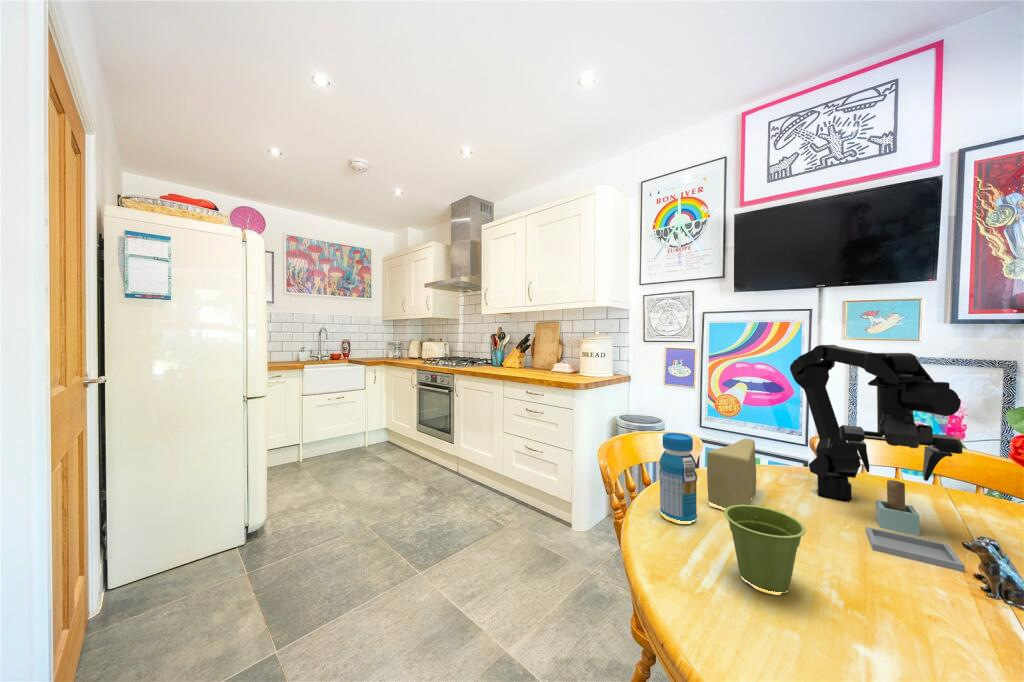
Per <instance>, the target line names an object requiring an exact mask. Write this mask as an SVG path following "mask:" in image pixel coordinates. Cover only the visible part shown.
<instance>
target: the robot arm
mask: <svg viewBox="0 0 1024 682" xmlns="http://www.w3.org/2000/svg"><path fill="white" fill-rule="evenodd" d="M836 363H839V364H844V365H848V366H853V367H858V368H861V369H863V370H864V371H865V372H866V373H868V374H870V375H873V376H874V379H871V380H869V382H867V386H871V387H876V406H877V407H876V408H877V409H876V413H877V414H876V417H877V421H876V422H877V429H876V430H877V431H871V430H870V431H869V430H864V429H863V427H861V426H857V425H845V424H842V425H840V426H839V422H838V419H837V416H836V413H835V410H834V408H833V404H832V402H831V400H830V396H829V393H828V390H827V385H828V382H829V379H830V374H829V371H830V370H832V369H833V368H834V367H835V366H836V365H835V364H836ZM789 370H790V374H791V375H792V379H794V382H795V383H796V384H798V386H800V387H801V388H802V389H803V390H804V393H805V396H806V399H807V404H808V406H809V410H810V412H811V415H812V418H813V422H814V425H815V429H816V432H817V435H818V438H819V440H818V443H817V446H816V448H815V454H816V457H815V458H814V459H812V461H810V463H809V464H808V469H809V472H810V473H812V474H814V475H816V476H817V480H816V481H817V485H816V486H817V489H816V494H817V496H818V497H819V498H824V499H828V500H832V501H833V500H834V501H840V502H844V503H851V501H853V500H852V483H851V482H850V481H849V478H852V479H853V478H854V479H856V477H857V474H858V472H859V470H860V469H859V468H861V462H862V463H863V466H864V469H865V471H866V472H867V473H870V462H869V456H868V452H867V451H868V450H867V444H866V442H865V440H872V441H873V440H874V441H881V442H882V441H883V442H886V444H887V445H889V446H892V447H893V446H894V447H898V446H899V447H907V448H910V449H918V448H920V446H924V451H923V452H924V453H923V466H922V477H923V481H924V482H928V481H929V479H930V478H931V475H932V474H933V472H934V470H935V468H936V467H937V465H938V464H939V463H940V461H941V460H943V459H944V458H945V457H953V456H954V454H957V455H962V454H963V444H962V442H961V441H960V440H958V439H957V438H955V437H954V436H952V435H948V434H939V433H938V434H937V433H934V432H933V427H932V426H931V425H928V424H927V425H925V424H916V423H915V417H914V416H915V415H914V412H918V413H924V414H925V413H926V414H930V415H938V416H943V417H951V416H952V415H955V414H956V413H957V412H958V411H959V410H960V407H961V404H962V403H961V402H962V400H961V398H959V395H958V394H957V391H955V390H954V389H951V388H950V383H949V382H948V381H947V382H945V381H935V380H934V379H933V378H932V377H931V375H930V374H929V373H928V372H927V371H926V369H925V368H924V367H923V365H922V364H921V363H920V361H919V359H917V356H916V355H915V354H913V353H911V352H873V351H867V350H861V349H860V350H859V349H855V348H850V347H848V348H847V347H845V346H844V347H843V346H839V345H835V344H819V345H816V346H815V347H814V348H813V349H811V350H809V351H808V352H806V353H803V354H802V355H799V356H798V357H797V358H796V359H794V360H793V362H791V364H790V366H789ZM860 460H861V461H860Z"/></svg>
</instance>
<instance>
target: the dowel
mask: <svg viewBox="0 0 1024 682" xmlns="http://www.w3.org/2000/svg"><path fill="white" fill-rule="evenodd" d="M886 489H887V490H886V493H887V494H886V501H887V508H888V509H893V510H898V511H903V512H905V505H906V484H905V483H904V482H902V481H898V480H894V479H892V480H891V479H887V481H886Z"/></svg>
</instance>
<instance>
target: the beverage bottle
mask: <svg viewBox="0 0 1024 682" xmlns="http://www.w3.org/2000/svg"><path fill="white" fill-rule="evenodd" d="M693 441H694V440H693V437H692V435H690V434H688V433H681V432H666V433H663V434H662V448H663V449H664V451H663V452H662V454H661V456H660V458H659V465H660V468H659V472H658V476H659V494H660V495H659V505H660V506H659V511H660V510H661V512H662V513H663V514H665V515H666V516H668V517H670V518H673V519H676V520H680V521H692V520H695V519H696V518H697V519H698V517H697V516H698V515H697V481H698V474H697V472H696V469H697V462H696V460H695V458H694V456H693V455H692V451H693V449H694V442H693Z"/></svg>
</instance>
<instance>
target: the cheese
mask: <svg viewBox="0 0 1024 682" xmlns="http://www.w3.org/2000/svg"><path fill="white" fill-rule="evenodd" d="M755 441H756V440H754V439H749V438H743V439H741V440H738V441H737V442H734V443H731V444H729V445H727V446H723V447H719V448H714V449H711V450H708V451H706V452H707V453H706V457H707V458H706V477H707V478H706V479H707V480H706V481H707V482H706V483H707V498H708V499H707V500H708V501H709V502H711V503H713V504H716V505H718V506H721V507H723V508H728V507H730V506H734V505H752V500H751V498H752V497H753V495H754V496H755V494H754V493H756V490H757V466H756V465H757V464H756V445H755V444H756V443H755ZM753 498H754V497H753ZM753 498H752V499H753ZM708 501H707V502H708Z"/></svg>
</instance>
